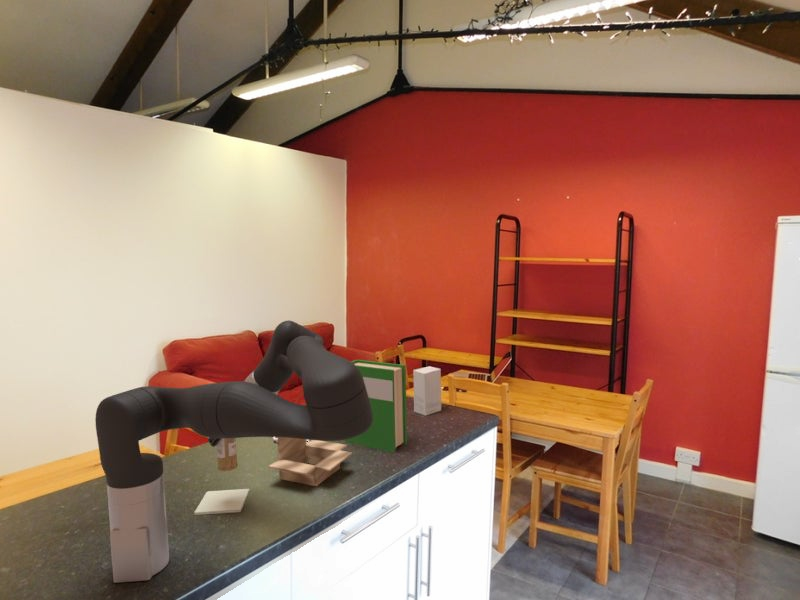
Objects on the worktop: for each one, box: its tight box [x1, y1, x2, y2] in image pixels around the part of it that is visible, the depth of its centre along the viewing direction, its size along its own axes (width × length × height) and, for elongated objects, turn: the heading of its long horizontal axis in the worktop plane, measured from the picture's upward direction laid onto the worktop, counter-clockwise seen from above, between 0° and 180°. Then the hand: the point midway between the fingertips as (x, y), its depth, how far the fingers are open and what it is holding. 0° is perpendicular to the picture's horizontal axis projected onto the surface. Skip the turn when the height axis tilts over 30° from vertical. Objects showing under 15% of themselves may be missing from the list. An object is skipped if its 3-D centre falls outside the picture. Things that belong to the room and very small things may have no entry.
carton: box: [268, 437, 353, 487], centre depth 131 cm, size 15×19×12 cm
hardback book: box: [344, 359, 408, 453], centre depth 151 cm, size 18×7×24 cm, turn 59°
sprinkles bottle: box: [215, 438, 239, 473], centre depth 116 cm, size 5×5×14 cm
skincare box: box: [412, 365, 442, 416], centre depth 180 cm, size 8×7×16 cm
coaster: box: [193, 488, 250, 516], centre depth 117 cm, size 10×10×1 cm
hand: (219, 439), depth 117 cm, fingers closed on sprinkles bottle, 4 cm apart
